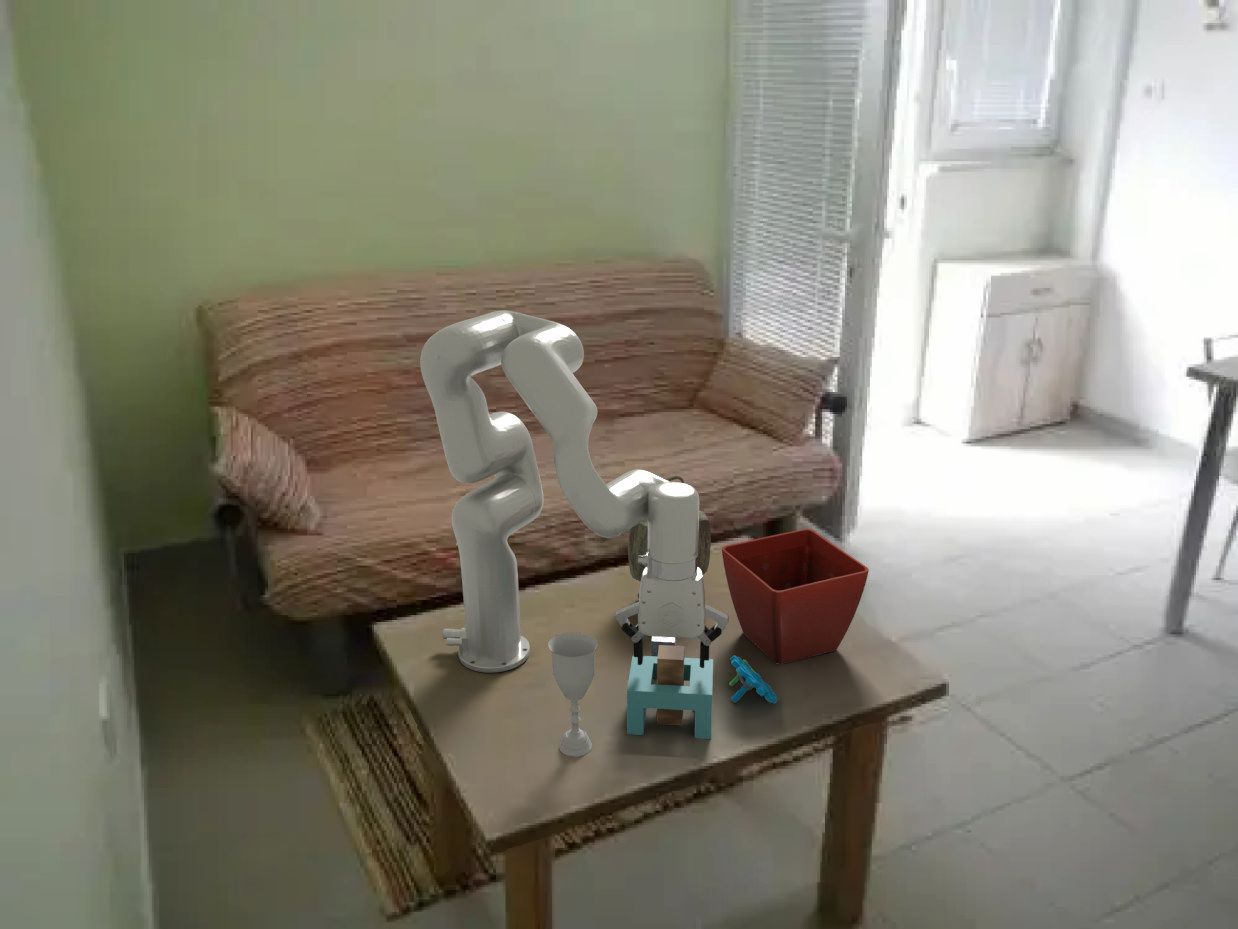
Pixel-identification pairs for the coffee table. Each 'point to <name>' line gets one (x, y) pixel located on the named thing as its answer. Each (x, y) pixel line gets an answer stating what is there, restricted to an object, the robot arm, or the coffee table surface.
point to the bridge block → (670, 694)
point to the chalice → (573, 682)
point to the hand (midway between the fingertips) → (671, 661)
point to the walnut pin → (670, 679)
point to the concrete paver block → (661, 643)
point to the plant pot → (793, 593)
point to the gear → (750, 681)
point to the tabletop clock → (640, 543)
